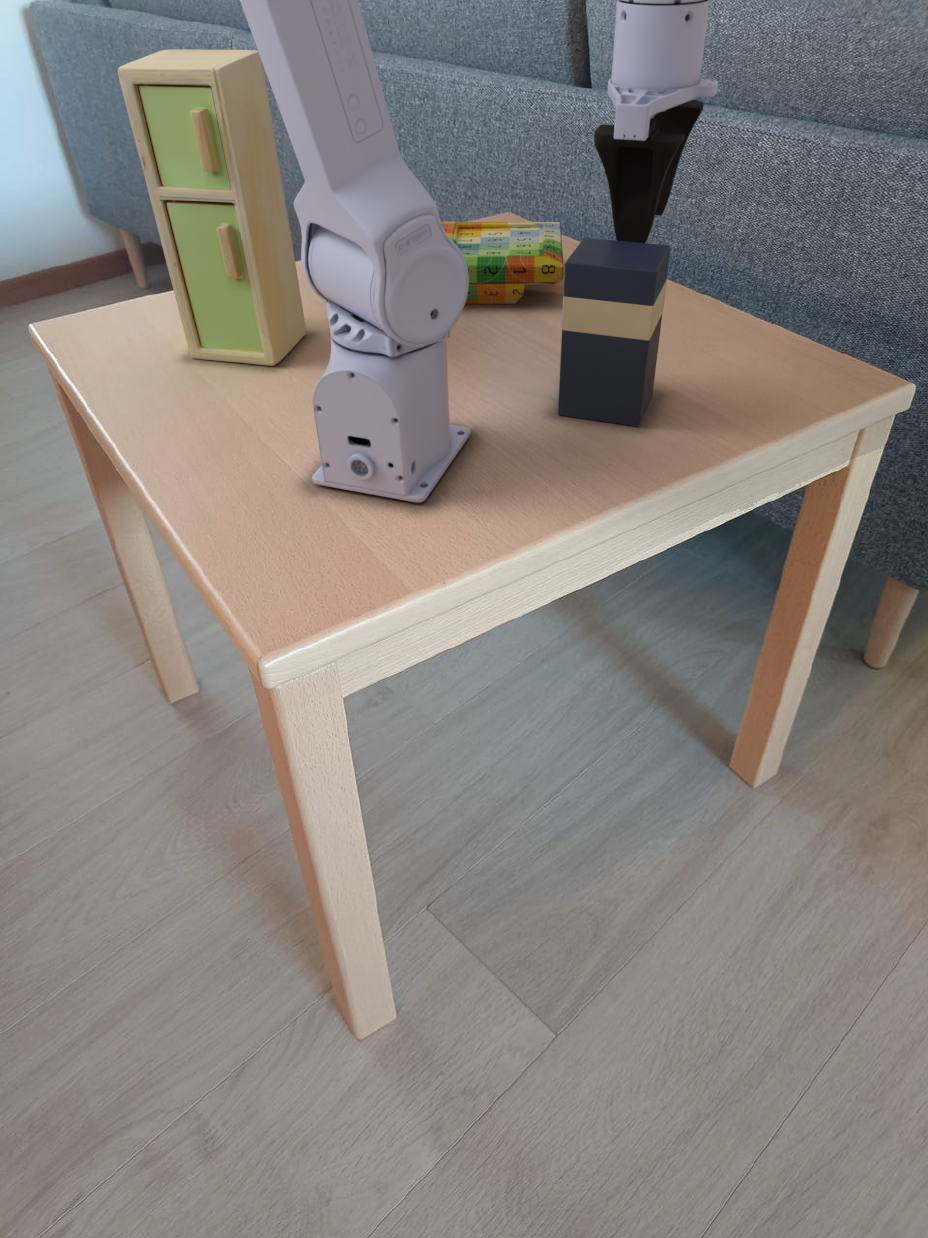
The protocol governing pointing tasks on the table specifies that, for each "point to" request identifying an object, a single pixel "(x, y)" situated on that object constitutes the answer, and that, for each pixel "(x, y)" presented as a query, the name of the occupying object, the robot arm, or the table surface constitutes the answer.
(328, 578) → the table surface
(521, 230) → the puzzle game
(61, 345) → the table surface
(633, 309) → the carton
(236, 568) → the table surface
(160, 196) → the toy refrigerator
